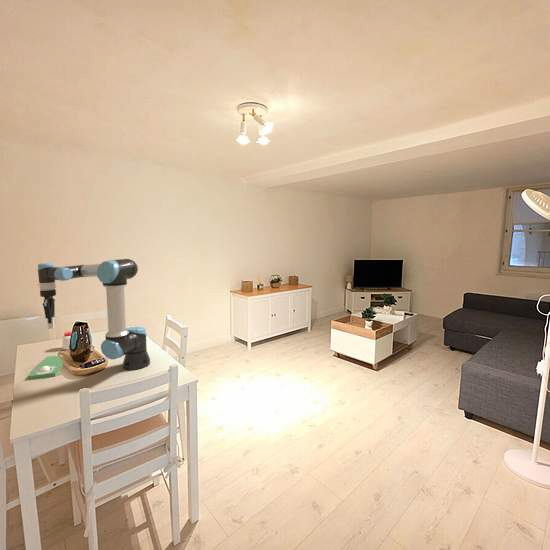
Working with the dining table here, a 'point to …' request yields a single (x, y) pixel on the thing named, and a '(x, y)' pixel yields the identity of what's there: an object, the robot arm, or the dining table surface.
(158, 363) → the dining table surface
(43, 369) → the ball
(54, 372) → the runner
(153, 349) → the dining table surface
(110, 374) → the dining table surface
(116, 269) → the robot arm
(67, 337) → the pill bottle
